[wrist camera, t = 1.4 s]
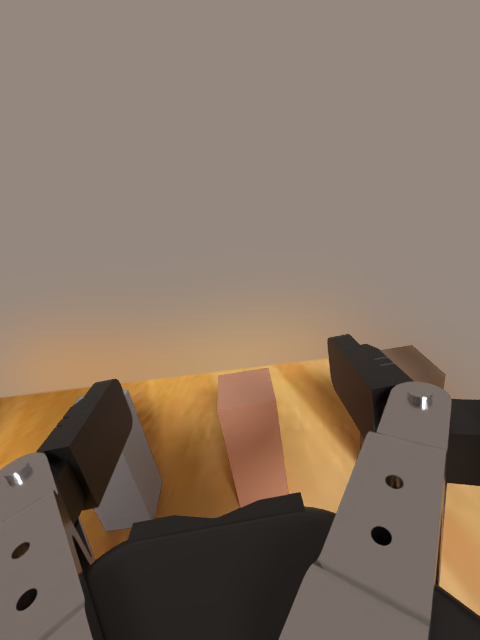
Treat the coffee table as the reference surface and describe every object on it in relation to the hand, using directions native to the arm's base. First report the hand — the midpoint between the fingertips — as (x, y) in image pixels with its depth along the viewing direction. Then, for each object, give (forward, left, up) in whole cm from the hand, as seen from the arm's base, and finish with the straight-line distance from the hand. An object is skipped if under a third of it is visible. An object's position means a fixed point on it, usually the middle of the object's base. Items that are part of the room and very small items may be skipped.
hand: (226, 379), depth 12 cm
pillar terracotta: (-8, +8, -21) cm, 23 cm away
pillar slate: (-17, -1, -21) cm, 27 cm away
